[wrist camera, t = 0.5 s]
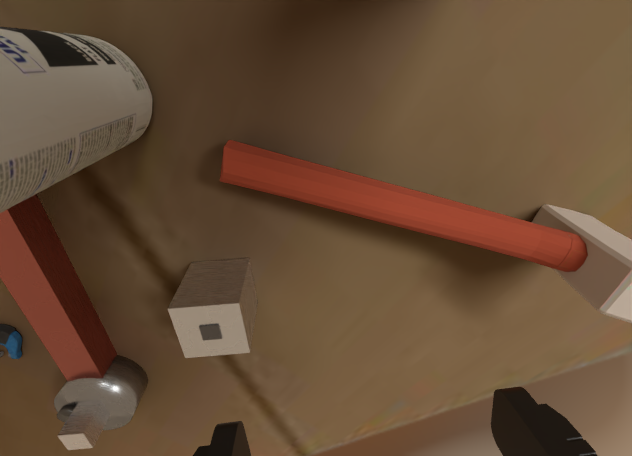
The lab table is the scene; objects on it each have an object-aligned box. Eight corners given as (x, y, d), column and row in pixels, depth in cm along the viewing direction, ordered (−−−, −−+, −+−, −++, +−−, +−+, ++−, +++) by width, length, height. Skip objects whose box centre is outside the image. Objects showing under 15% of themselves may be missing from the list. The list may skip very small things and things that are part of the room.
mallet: (193, 208, 19) (677, 337, 19) (198, 149, 17) (724, 292, 18) (246, 162, 28) (568, 250, 29) (252, 122, 27) (592, 215, 27)
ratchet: (-55, 163, 23) (-174, 199, 17) (45, 156, 23) (-39, 189, 17) (92, 400, 35) (52, 466, 29) (156, 394, 35) (129, 459, 30)
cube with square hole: (191, 262, 27) (166, 309, 22) (249, 257, 28) (238, 304, 22) (204, 306, 30) (184, 359, 25) (257, 302, 30) (249, 353, 25)
